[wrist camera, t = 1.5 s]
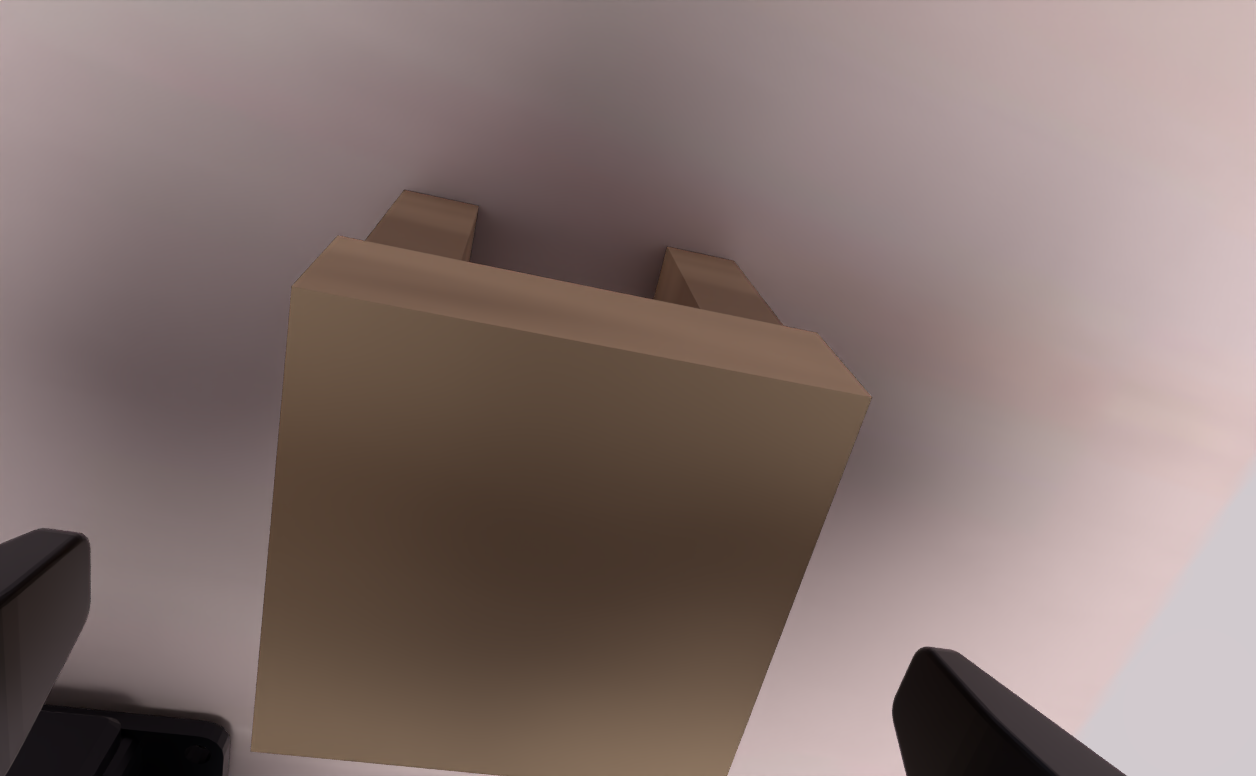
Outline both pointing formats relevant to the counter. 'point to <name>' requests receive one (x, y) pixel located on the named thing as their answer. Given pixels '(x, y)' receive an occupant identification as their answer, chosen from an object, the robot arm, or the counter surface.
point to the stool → (535, 509)
